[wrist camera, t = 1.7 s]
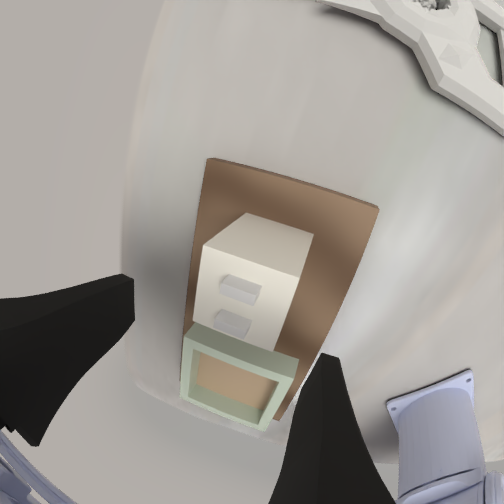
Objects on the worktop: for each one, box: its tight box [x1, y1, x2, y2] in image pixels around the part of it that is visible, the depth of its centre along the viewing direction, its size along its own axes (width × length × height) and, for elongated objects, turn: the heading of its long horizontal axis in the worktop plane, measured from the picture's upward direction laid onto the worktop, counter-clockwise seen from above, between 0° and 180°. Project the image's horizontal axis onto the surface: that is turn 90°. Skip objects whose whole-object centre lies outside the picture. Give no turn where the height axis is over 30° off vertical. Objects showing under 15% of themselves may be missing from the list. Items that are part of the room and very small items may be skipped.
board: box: [180, 158, 379, 421], centre depth 19 cm, size 20×10×1 cm, turn 167°
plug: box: [193, 213, 314, 352], centre depth 14 cm, size 4×4×6 cm
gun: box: [316, 0, 504, 137], centre depth 8 cm, size 18×4×10 cm
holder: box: [179, 322, 299, 432], centre depth 20 cm, size 8×8×2 cm
